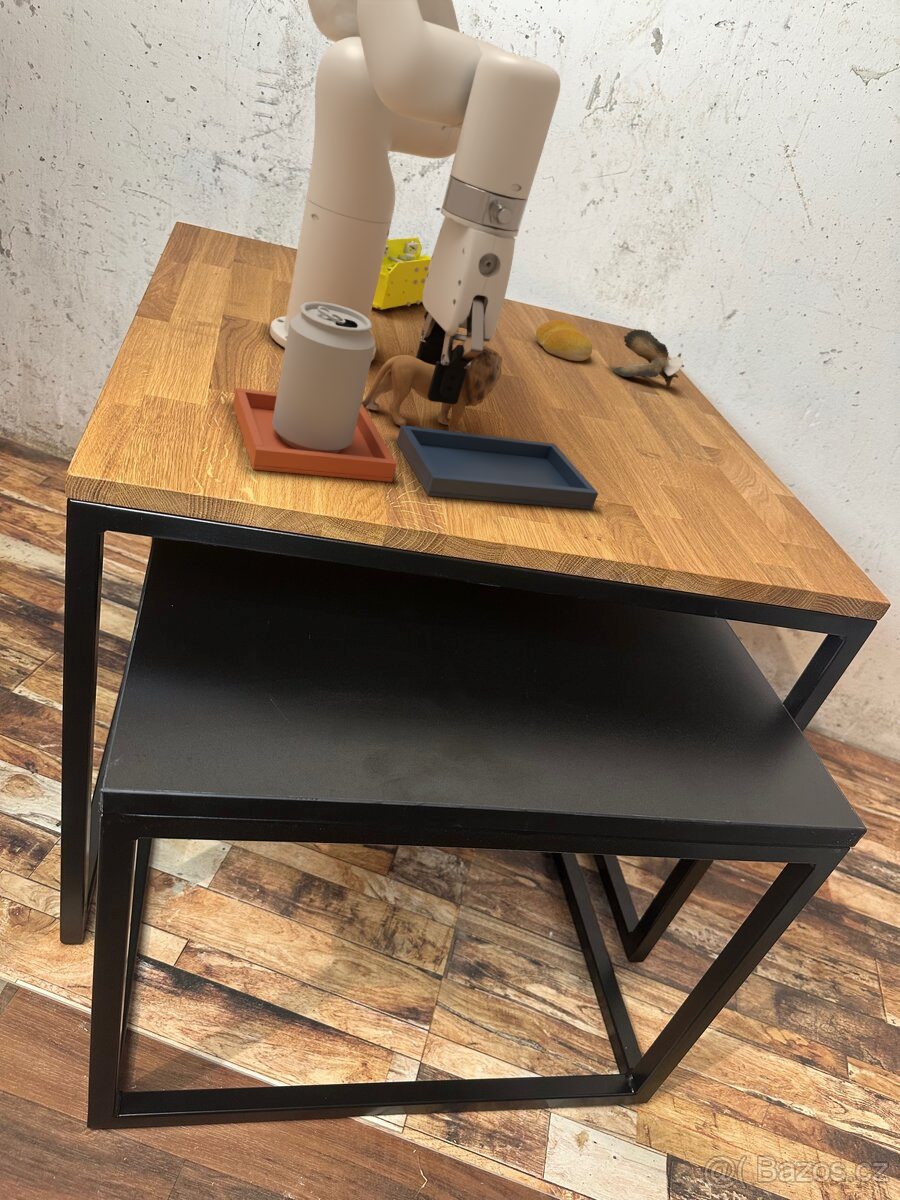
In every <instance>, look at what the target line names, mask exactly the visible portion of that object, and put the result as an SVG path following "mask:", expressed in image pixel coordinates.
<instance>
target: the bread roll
mask: <svg viewBox="0 0 900 1200" xmlns="http://www.w3.org/2000/svg"><path fill="white" fill-rule="evenodd" d="M535 338H536V341H537V343H538V344H539V345H540V346H541V347H542V348H543V349H544V350H545V351H546V352H547V353H548V354H551V355H553V356H555V357H559V358H561V359H563V360H567V361H572V362H583V361H586V360H587V359H590V356H591V354H592V352H593V345H592V344H593V343H592V341H591V340H590V339H589V338H588V337H587V336H585V335H584V334H582V333H581V330H579V329H578V327H576V326H575V325H574V324H573V323H572V322H570V321H567V320H564V319H563V320H562V319H553V320H549V321H547V322H544V323H543V324H541V325H540V326H539V327H538V328H537V329H536V331H535Z"/></svg>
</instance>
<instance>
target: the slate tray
mask: <svg viewBox="0 0 900 1200" xmlns="http://www.w3.org/2000/svg"><path fill="white" fill-rule="evenodd" d="M396 444H397V446H398V448H399V449H400V451H401V452H402V454H403V456H404V458H405V459H406V461H407V462H408V465H409V466H410V468H411V469H412V471H413V473H414V474H415V476H416V478H417V479H418V481H419V482H420V484H421V486H422V488H423V489H424V491H425V492H426V495H427V496H428V497H438V498H449V499H450V498H451V499H461V500H463V499H464V500H473V501H486V502H497V503H508V504H519V505H520V504H521V505H532V506H542V507H543V506H544V507H554V508H566V509H579V510H589V511H592V510H593V507H594V505H595V502H596V500H597V499H598V498H597V497H598V495H599V492H598V491H597V490H596V489H595V487H594V486H593V485H592V484H591V483H590V482H589V481H588V480H587V479H586V477H585V476H584V475H583V474H582V473H581V472H580V470H579V469H577V467H576V466H575V465H574V463H572V461H571V460H569V458H568V457H567V456H566V455H565V454H564V452H563V451H561V450H560V448H559V447H558V445H556V443H553V442H544V441H536V440H529V439H528V440H527V439H521V438H519V439H518V438H511V437H503V436H495V435H486V434H479V433H469V432H454V431H449V430H446V429H438V428H437V429H436V428H428V427H420V426H412V425H406V426H404V425H401V426H400V427H399V430H398V435H397V439H396Z"/></svg>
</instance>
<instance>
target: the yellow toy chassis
mask: <svg viewBox="0 0 900 1200" xmlns="http://www.w3.org/2000/svg"><path fill="white" fill-rule="evenodd" d="M422 250H423V247H422V244H421V241H420V238H419V237H402V238H392V239H391V238H388V239H387V244H386V248H385V253H384V257H383V261H382V266H381V270H380V275H379V279H378V284H377V288H376V292H375V297H374V301H373V306H372V309H373V308H374V309H376V310H382V311H383V310H387V309H390V308H396V307H401V306H407V307H410V306H411V305H412V304H416V305H417V306H418V305H420V304H421V303H423V301H422V297H423V291H424V286H425V281H426V277H427V273H428V269H429V265H430V262H431V258H432V256H429V255H426V254H422V255H421V253H422Z"/></svg>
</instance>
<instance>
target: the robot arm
mask: <svg viewBox="0 0 900 1200" xmlns="http://www.w3.org/2000/svg"><path fill="white" fill-rule="evenodd" d="M307 3H308V7H309V10H310V14H311V17H312V19H313V22H314V24H315V26H316V28H317V29H318V31H319V33H321V34H322V35H323V36H324V37H325V38H327V39H328V40H330V41H332V42H334V43H332V44H331V45H330V46H329V47H328V48H327V49H326V50H325V52H324V54H323V55H322V57H321V59H320V61H319V64H318V67H317V71H316V77H315V85H314V137H313V148H312V157H311V158H312V159H311V165H310V170H309V171H310V172H309V178H308V185H307V189H306V190H307V191H306V196H305V203H304V208H303V209H304V210H303V215H302V221H301V227H300V232H299V238H298V243H297V250H296V256H295V261H294V268H293V272H292V273H293V274H292V279H291V284H290V291H289V295H288V301H287V308H286V314H285V315H283V316H279V317H277V318H275V319H273V320H272V321H271V323H270V328H269V335H270V336H271V338H272V339H273V340H274V341H275V343H277V344H278V345H280V346H281V347H283V348H284V349H285V346H286V340H287V335H288V329H289V323H290V321H291V320H292V318H294V317H295V316H296V315H298V314H299V313H301V310H300V307H301V305H302V304H304V303H307V302H326V303H331V304H336V305H340V306H343V307H347V308H349V309H352V310H354V311H357V312H359V313H360V314H362V315H364V316H365V317H367V318H368V319H369V320H370V319H371V314H372V311H373V310H372V309H373V308H372V306H373V301H374V297H375V292H376V288H377V284H378V279H379V275H380V270H381V266H382V261H383V257H384V253H385V248H386V244H387V239H389V234H390V230H391V225H392V220H393V216H394V211H395V205H396V185H395V184H396V183H395V179H394V176H393V171H392V167H391V164H390V159H389V152H391V153H400V154H404V155H405V154H406V155H411V156H415V157H421V158H425V159H427V158H428V159H443V158H444V159H445V158H448V157H451V156H453V155H454V157H453V161H452V166H451V169H450V175H449V177H448V178H449V179H448V181H447V186H446V190H445V194H444V197H443V201H442V205H441V208H440V214H441V215H443V217H444V218H443V221H442V223H441V227H440V230H439V232H438V236H437V238H436V242H435V244H434V248H433V252H432V255H431V262H430V265H429V269H428V273H427V277H426V281H425V286H424V291H423V297H422V301H423V302H422V305H423V307H424V309H425V313H424V315H423V318H424V323H423V327H422V328H421V333H420V342H419V344H418V345H419V346H418V349H417V353H416V356H415V357H416V358H417V359H419V360H421V361H423V362H425V363H428V364H432V365H435V369H434V373H433V377H432V380H431V384H430V388H429V391H428V395H427V397H428V399H429V400H428V401H430V402H434V403H441V404H442V403H448V404H456V403H457V402H458V399H459V395H460V392H461V388H462V385H463V381H464V378H465V375H466V371H467V369H469V367H470V364H471V361H472V360H473V359H474V357H475V356H477V355H479V354H480V353H481V352H482V350H483V346H484V342H485V343H490V342H491V341H492V340H493V339H494V338H495V335H496V331H497V329H498V325H499V321H500V317H501V314H502V310H503V307H504V306H503V305H504V302H505V298H506V294H507V289H508V286H509V280H510V276H511V271H512V267H513V259H514V253H515V244H516V237H518V236H519V235H518V234H519V231H520V228H521V224H522V221H523V217H524V215H525V211H526V208H527V204H528V201H529V197H530V193H531V190H532V187H533V183H534V181H535V177H536V174H537V170H538V166H539V163H540V160H541V156H542V153H543V151H544V150H543V149H544V148H545V147H544V146H545V142H546V141H547V137H548V133H549V130H550V126H551V123H552V121H553V116H554V113H555V110H556V107H557V103H558V99H559V96H560V91H561V77H560V75H559V74H558V72H557V71H556V70H555V69H554V68H553V67H551V66H549V65H548V64H545V63H542V62H540V61H537V60H535V59H531V58H528V57H525V56H522V55H519V54H516V53H512V52H509V51H506V50H504V49H502V48H501V47H500V46H497V45H495V44H493V43H491V42H489V41H485V40H482V39H479V38H477V37H473V36H471V35H469V34H466V33H463V32H460V31H461V30H460V27H459V22H458V18H457V14H456V9H455V7H454V3H453V0H307ZM459 329H465V330H466V334H464V333H459V332H460V331H459ZM455 341H459V342H463V343H462V344H457V345H456V346H455V347H454V342H455ZM376 351H377V347H376V346H375V347H374V351H373V355H372V360H371V362H372V361H373V360H374V359H375V357H376Z"/></svg>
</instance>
